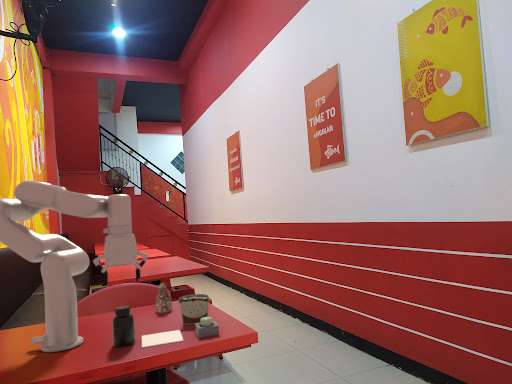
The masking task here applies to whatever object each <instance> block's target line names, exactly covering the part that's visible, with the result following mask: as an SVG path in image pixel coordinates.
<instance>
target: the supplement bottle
mask: <svg viewBox="0 0 512 384" xmlns="http://www.w3.org/2000/svg"><path fill="white" fill-rule="evenodd" d="M114 315H115V316H113V318H112V319H111V320H112V321H111V323H112V324H111V325H112V340H113V346H114V347H116V348H126V347H128V346H132V345H134V344H135V343H136V329H135V316H134V315H133V314H132V313H131V306H130V305H121V306H120V305H119V306H118V307H115V308H114Z"/></svg>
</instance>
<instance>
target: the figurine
mask: <svg viewBox="0 0 512 384" xmlns="http://www.w3.org/2000/svg"><path fill="white" fill-rule="evenodd" d="M166 283H167V282H165V281H164V282H163V283H159V285H158V286H157V295H156V299H155V313H158V314H159V313H160V314H161V313H162V314H163V313H168V312H170V311H172V309H173V303H172V297H171V295H170V293H169V292H168V289H167V288H168V286H167V284H166Z"/></svg>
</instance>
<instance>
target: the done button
mask: <svg viewBox="0 0 512 384" xmlns="http://www.w3.org/2000/svg"><path fill="white" fill-rule="evenodd" d="M200 321H201V327H206V326H212V321H213V317H212V316H208V317H203V318H201V319H200Z"/></svg>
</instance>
